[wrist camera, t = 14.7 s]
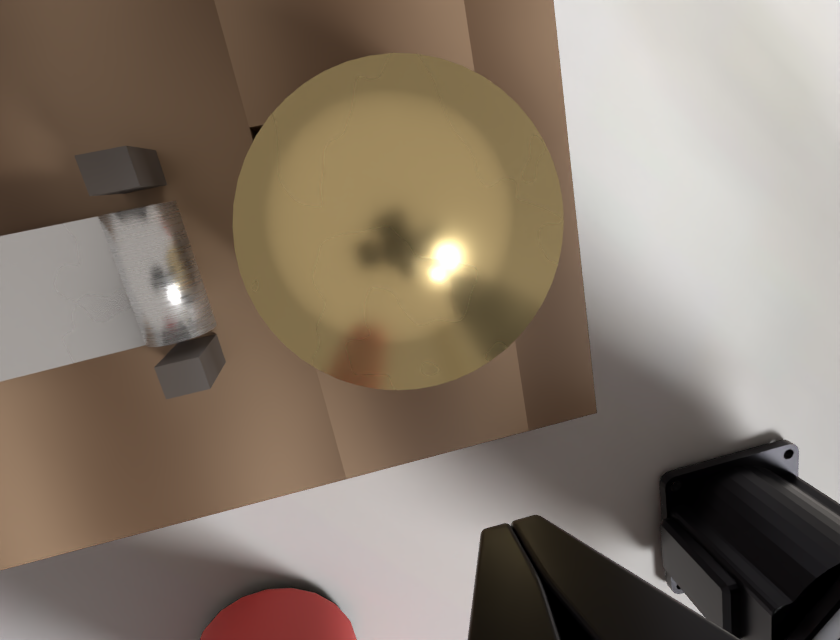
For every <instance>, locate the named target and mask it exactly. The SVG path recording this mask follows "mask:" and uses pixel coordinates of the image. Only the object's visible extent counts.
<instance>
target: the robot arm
mask: <svg viewBox="0 0 840 640" xmlns="http://www.w3.org/2000/svg"><path fill="white" fill-rule="evenodd" d="M798 460H799V450H798V447H797V446H796V445H795V444H793V443H791V442H789V441H787V440H780V441H777V442H773V443H769V444H766V445H762V446H759V447H755V448H752V449H748V450H744V451H741V452H737V453H734V454H730V455H727V456H723V457H719V458H716V459H712V460H709V461H705V462H702V463H698V464H694V465H691V466H687V467H684V468H680V469H677V470H673V471H669V472H667V473H665V474H664V475H663V476H662V478H661V480H660V495H661V509H662V521H661V525H660V530H661V545H662V559H663V567H664V569H665V570H666V582H667V585H668V586H669V587H670V588H671V590H672V591H673V592H674V593H677V594H681V593H685V594H686V595H687V596H688V598H689V599H690V600H691V601H692V602H693V604H694V605H695V606H696V607H697V608H698V610H699V611H700V612H701V613H702V614H703V615H704V617H703V616H701V615H700V614H698V613H696V612H695V611H693V610H692V609H690V608H688V607H687V606H685V605H684V604H682V603H680V602H679V601H677V600H675V599H674V598H672V597H671V596H669V595H667V594H666V593H664V592H663V591H661V590H659V589H658V588H656V587H654V586H653V585H651V584H650V583H648V582H646V581H645V580H643V579H642V578H640V577H638V576H637V575H635V574H633V573H632V572H630V571H629V570H627V569H625V568H624V567H622V566H620V565H619V564H617V563H616V562H614V561H612V560H611V559H609V558H608V557H606V556H604V555H603V554H601V553H599V552H598V551H596V550H595V549H593V548H591V547H590V546H588V545H587V544H585V543H583V542H582V541H580V540H578V539H577V538H575V537H574V536H572V535H570V534H569V533H567V532H566V531H564V530H562V529H561V528H559V527H557V526H556V525H554V524H553V523H551V522H549V521H548V520H546V519H544V518H543V517H541V516H539V515H532V516H529V517H525V518H522V519H518V520H515V521H513V522H512V523H511V526H510V525H509V524H506V523H504V524H500V525H497V526H493V527H490V528H486V529H484V530H483V531H482V532H481V536H480V544H479V552H478V560H477V568H476V576H475V585H474V593H473V601H472V609H471V617H470V625H469V633H468V640H840V504H839V503H837V502H836V501H834V500H833V499H831V498H830V497H828V496H827V495H825V494H824V493H822V492H820V491H819V490H817V489H816V488H814V487H813V486H811V485H810V484H808V483H807V482H805V481H803V480H802V479H800V478H799V477H798ZM673 482H675V483H674V484H673V485H671V484H672V483H673Z"/></svg>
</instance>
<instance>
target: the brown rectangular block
mask: <svg viewBox="0 0 840 640" xmlns="http://www.w3.org/2000/svg"><path fill="white" fill-rule="evenodd" d="M388 53H409V54H421V55H426V56H432V57H437V58H441V59H444V60H447V61H450V62H453V63H456V64H459V65H462V66H464V67H466V68H468V69H470V70H472V71H474V72H476V73H478V74H480V75H482V76H483V77H485V78H486V79H488V80H489V81H491V82H492V83H494V84H495V85H496V86H498V87H499V88H501V89H502V90H503V91H504V92H505V93H506V94H507V95H508V96H510V97H511V98H512V99H513V100H514V101H515V102H516V103H517V104H518V105H519V106H520V107H521V109H522V110H523V111H524V112H525V113H526V115H527V116H528V117H529V118H530V120H531V121H532V122H533V124H534V125H535V127H536V129H537V130H538V132H539V133H540V135H541V137H542V138H543V140H544V142H545V144H546V146H547V148H548V151H549V153H550V155H551V157H552V159H553V162H554V166H555V169H556V172H557V175H558V179H559V183H560V189H561V194H562V200H563V217H564V227H563V240H562V248H561V253H560V258H559V263H558V266H557V269H556V272H555V276H554V279H553V282H552V284H551V287H550V289H549V291H548V293H547V295H546V297H545V299H544V302H543V303H542V305H541V307H540V308H539V310H538V311H537V313H536V315H535V316H534V318H533V319H532V321H531V322H530V323H529V325H528V326H527V327H526V328H525V330H524V331H523V332H522V333H521V335H520V336H519V337H518V338H517V339H516V340H515V341H514V342H513V343H512V344H511V345H510V346H509V347H508V348H507V349H505V350H504V351H503V352H502V353H500V354H499V355H498V356H496V357H495V358H494V359H493V360H491V361H490V362H488V363H487V364H485V365H483V366H482V367H480V368H478V369H477V370H475V371H473V372H471V373H469V374H467V375H464V376H462V377H460V378H458V379H456V380H452V381H449V382H446V383H443V384H440V385H436V386H431V387H426V388H420V389H410V390H384V389H374V388H369V387H363V386H358V385H355V384H352V383H348V382H345V381H342V380H339V379H337V378H334V377H332V376H330V375H328V374H326V373H324V372H322V371H319V370H318V369H316V368H315V367H313V366H311V365H310V364H308V363H307V362H305V361H304V360H302V359H301V358H299V357H298V356H297V355H296V354H295V353H293V352H292V351H291V350H290V349H289V348H287V347H286V346H285V345H284V344H283V343H282V342H281V341H280V340H279V339H278V337H277V336H276V335H275V334H274V333H273V332H272V331H271V330H270V328H269V327H268V326H267V324H266V323H265V322H264V320H263V319H262V317H261V316H260V315H259V313H258V311H257V310H256V308H255V306H254V304H253V302H252V300H251V298H250V297H249V295H248V293H247V290H246V287H245V285H244V282H243V279H242V277H241V274H240V271H239V267H238V262H237V258H236V254H235V248H234V238H233V204H234V198H235V192H236V187H237V181H238V178H239V175H240V172H241V169H242V166H243V163H244V160H245V157H246V155H247V153H248V151H249V149H250V147H251V145H252V143H253V141H254V139H255V137H256V135H257V134H258V132H259V131H260V129H261V128H262V126H263V125H264V123H265V122H266V120H267V119H268V117H269V116H270V115H271V114H272V113H273V112H274V111H275V109H276V108H277V107H278V106H279V105H280V104H281V103H282V102H283V101H284V100H285V98H287V97H288V96H289V95H290V94H292V93H293V92H294V91H295V90H296V89H298V88H299V87H300V86H301V85H302V84H304V83H305V82H307V81H309V80H310V79H312V78H313V77H315V76H317V75H318V74H320V73H322V72H323V71H325V70H328V69H330V68H332V67H335V66H337V65H339V64H342V63H344V62H347V61H350V60H354V59H358V58H362V57H366V56H370V55H379V54H388ZM171 201H176V202H177V205H178V208H179V211H180V214H181V217H182V221H183V224H184V227H185V230H186V233H187V236H188V239H189V242H190V245H191V248H192V251H193V254H194V257H195V260H196V263H197V266H198V269H199V272H200V275H201V278H202V281H203V284H204V287H205V290H206V293H207V296H208V300H209V303H210V306H211V309H212V312H213V315H214V318H215V321H216V324H217V325H216V327H215V328H214V329H212V330H211V331H209V332H207V333H205V334H203V335H200V336H198V337H195V338H192V339H189V340H186V341H183V342H180V343H176V344H172V345H167V346H161V347H148V346H146V345H144V346H140V347H136V348H132V349H128V350H124V351H120V352H116V353H112V354H108V355H104V356H100V357H96V358H92V359H88V360H84V361H80V362H76V363H72V364H68V365H64V366H60V367H56V368H53V369H49V370H45V371H41V372H37V373H33V374H29V375H25V376H21V377H17V378H13V379H9V380H5V381H1V382H0V570H4V569H8V568H11V567H15V566H19V565H23V564H27V563H30V562H34V561H38V560H42V559H45V558H49V557H53V556H57V555H61V554H64V553H68V552H72V551H76V550H80V549H83V548H87V547H91V546H95V545H98V544H102V543H106V542H110V541H114V540H117V539H121V538H125V537H129V536H133V535H136V534H140V533H144V532H148V531H152V530H155V529H159V528H163V527H167V526H170V525H174V524H178V523H182V522H186V521H189V520H193V519H197V518H201V517H205V516H208V515H212V514H216V513H220V512H223V511H227V510H231V509H235V508H239V507H242V506H246V505H250V504H254V503H258V502H261V501H265V500H269V499H273V498H277V497H280V496H284V495H288V494H292V493H295V492H299V491H303V490H307V489H311V488H314V487H318V486H322V485H326V484H330V483H333V482H337V481H341V480H345V479H348V478H352V477H356V476H360V475H364V474H367V473H371V472H375V471H379V470H383V469H386V468H390V467H394V466H398V465H402V464H405V463H409V462H413V461H417V460H420V459H424V458H428V457H432V456H436V455H439V454H443V453H447V452H451V451H455V450H458V449H462V448H466V447H470V446H473V445H477V444H481V443H485V442H489V441H492V440H496V439H500V438H504V437H508V436H511V435H515V434H519V433H523V432H527V431H530V430H534V429H538V428H542V427H545V426H549V425H553V424H557V423H561V422H564V421H568V420H572V419H576V418H580V417H583V416H587V415H591V414H595V413H597V410H596V400H595V391H594V381H593V372H592V362H591V353H590V343H589V334H588V324H587V315H586V305H585V296H584V286H583V277H582V267H581V258H580V248H579V239H578V229H577V220H576V210H575V201H574V191H573V182H572V172H571V163H570V153H569V144H568V134H567V125H566V116H565V106H564V97H563V87H562V78H561V68H560V59H559V49H558V40H557V30H556V21H555V11H554V2H553V0H0V236H3V235H8V234H13V233H18V232H23V231H28V230H33V229H38V228H43V227H48V226H53V225H58V224H63V223H68V222H73V221H78V220H82V219H87V218H92V217H97V216H101V215H105V214H110V213H115V212H120V211H125V210H130V209H134V208H140V207H145V206H150V205H155V204H160V203H166V202H171Z"/></svg>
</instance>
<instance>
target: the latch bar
mask: <svg viewBox="0 0 840 640" xmlns="http://www.w3.org/2000/svg"><path fill="white" fill-rule="evenodd" d="M216 325H217V324H216V321H215V318H214V315H213V312H212V309H211V306H210V303H209V300H208V296H207V293H206V290H205V287H204V284H203V281H202V278H201V275H200V272H199V269H198V266H197V263H196V260H195V257H194V254H193V251H192V248H191V245H190V242H189V239H188V236H187V233H186V230H185V227H184V224H183V221H182V217H181V214H180V211H179V208H178V205H177V202H176V201H171V202H166V203H160V204H155V205H150V206H145V207H140V208H134V209H130V210H125V211H120V212H115V213H110V214H105V215H101V216H97V217H92V218H87V219H82V220H78V221H73V222H68V223H63V224H58V225H53V226H48V227H43V228H38V229H33V230H28V231H23V232H18V233H13V234H8V235H3V236H0V382H1V381H5V380H9V379H13V378H17V377H21V376H25V375H29V374H33V373H37V372H41V371H45V370H49V369H53V368H56V367H60V366H64V365H68V364H72V363H76V362H80V361H84V360H88V359H92V358H96V357H100V356H104V355H108V354H112V353H116V352H120V351H124V350H128V349H132V348H136V347H140V346H144V345H146V346H148V347H161V346H167V345H172V344H176V343H180V342H183V341H186V340H189V339H192V338H195V337H198V336H200V335H203V334H205V333H207V332H209V331H211V330H212V329H214V328H215V327H216Z"/></svg>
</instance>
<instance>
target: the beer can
mask: <svg viewBox="0 0 840 640" xmlns="http://www.w3.org/2000/svg"><path fill="white" fill-rule="evenodd" d="M200 640H357V639H356V636H355V633H354V630H353V628H352V625H351V622H350V620H349V619H348V618H347V617H346V615H345V614H344V613H343V612H342V611H341V610H340V609H339V608H338V606H337V605H336V604H335V603H333V602H331V601H329V600H327V599H326V598H324V597H322V596H320V595H318V594H316V593H314V592H310V591H305V590H301V589H296V588H275V589H266V590H263V591H260V592H256V593H253V594H250V595H247V596H244V597H242V598H240V599H238V600H237V601H235V602H234V603H232V604H231V605H229V606H227V607H226V608H224V609H223V610H221V611H220V612H219V613H218V615H217V616H216V617H215V618H214V619H213V620H212V622H211V623H210V624H209V625H208V626H207V627H206V628H205V630H204V631H203V633H202V636H201V638H200Z"/></svg>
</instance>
